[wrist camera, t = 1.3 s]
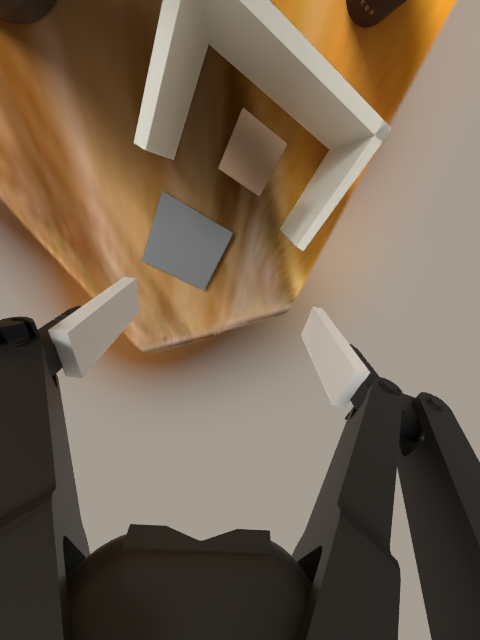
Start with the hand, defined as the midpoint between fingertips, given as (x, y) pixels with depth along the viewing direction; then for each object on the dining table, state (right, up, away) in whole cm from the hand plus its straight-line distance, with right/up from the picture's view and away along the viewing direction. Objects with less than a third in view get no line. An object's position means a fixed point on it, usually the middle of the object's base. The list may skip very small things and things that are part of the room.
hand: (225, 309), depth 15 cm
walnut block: (+2, +23, +16) cm, 28 cm away
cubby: (+3, +24, +15) cm, 29 cm away
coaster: (-9, +13, +23) cm, 28 cm away
